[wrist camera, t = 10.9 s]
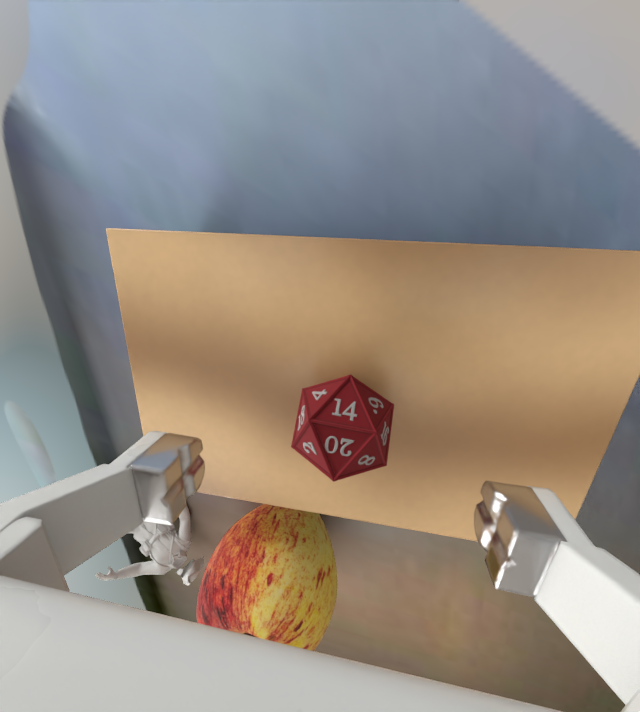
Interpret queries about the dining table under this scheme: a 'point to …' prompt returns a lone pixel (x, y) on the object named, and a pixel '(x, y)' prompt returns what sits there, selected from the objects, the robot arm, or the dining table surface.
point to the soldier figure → (161, 551)
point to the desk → (382, 362)
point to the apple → (272, 578)
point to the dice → (343, 427)
